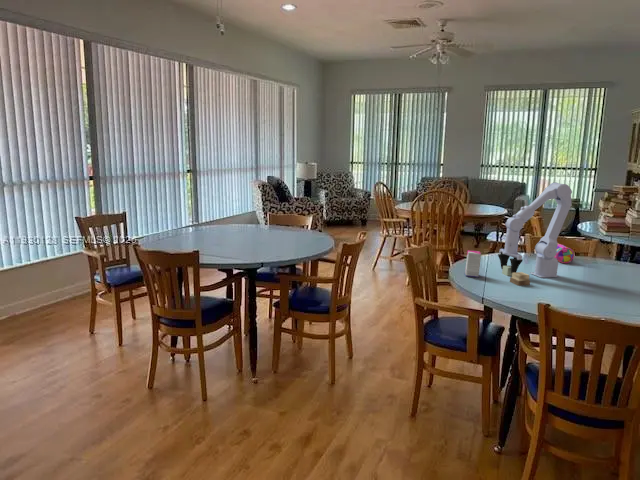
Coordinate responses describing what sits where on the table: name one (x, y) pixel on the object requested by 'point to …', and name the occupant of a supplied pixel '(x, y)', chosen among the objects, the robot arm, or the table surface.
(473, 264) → the supplement box
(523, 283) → the tower base
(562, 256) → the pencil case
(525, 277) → the tower mid
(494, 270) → the table surface
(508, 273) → the top block
